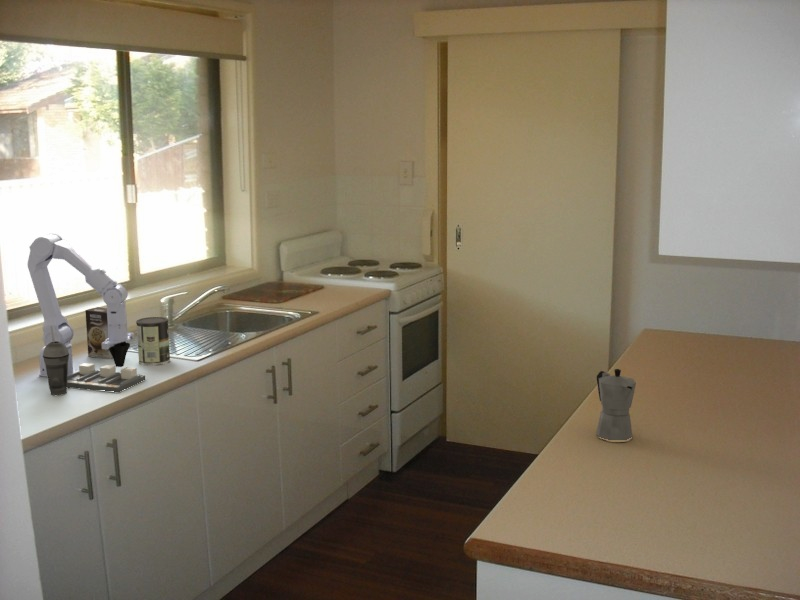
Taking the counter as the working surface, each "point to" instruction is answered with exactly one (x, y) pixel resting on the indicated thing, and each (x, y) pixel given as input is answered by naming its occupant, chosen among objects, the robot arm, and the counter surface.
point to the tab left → (86, 368)
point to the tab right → (128, 373)
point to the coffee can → (153, 340)
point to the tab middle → (107, 370)
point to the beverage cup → (56, 366)
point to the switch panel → (102, 381)
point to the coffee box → (97, 332)
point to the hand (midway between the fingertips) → (119, 366)
